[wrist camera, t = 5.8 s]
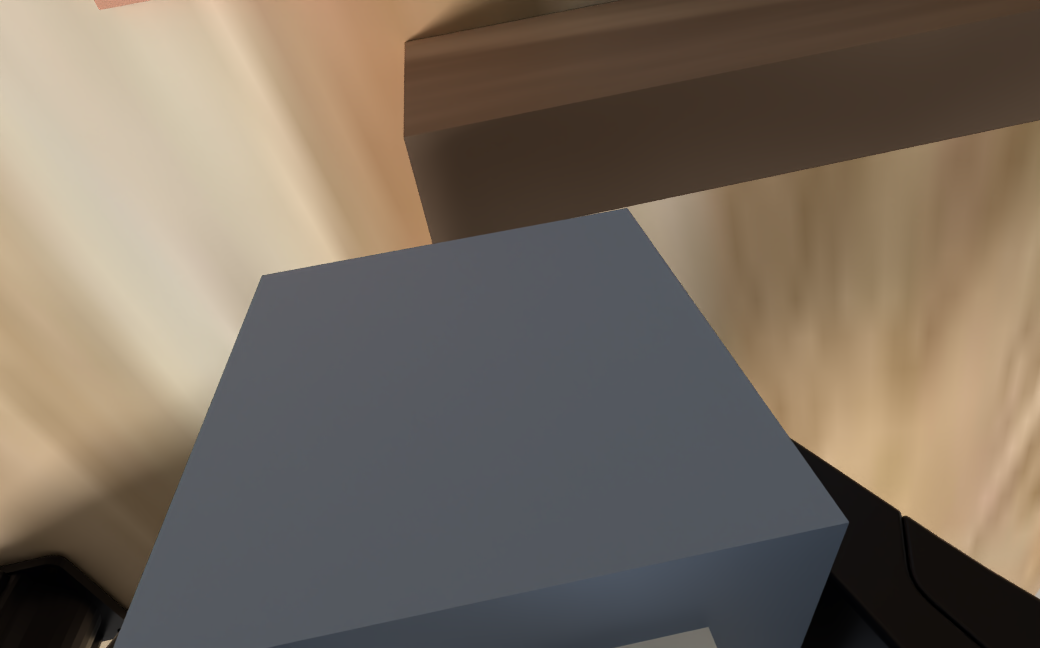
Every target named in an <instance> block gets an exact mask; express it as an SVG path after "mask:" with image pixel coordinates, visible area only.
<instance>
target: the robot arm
mask: <svg viewBox="0 0 1040 648" xmlns="http://www.w3.org/2000/svg"><path fill="white" fill-rule="evenodd" d="M789 438H790V437H789ZM790 439H791V438H790ZM791 441H792V442H793V443H794V445H795V446H796V448H797V449H798V450H799V452H800V453H801V455H802V456H803V458H804V459H805V460H806V462H807V463H808V465H809V466H810V467H811V469H812V470H813V472H814V473H815V475H816V476H817V477H818V479H819V480H820V482H821V483H822V484H823V486H824V487H825V489H826V490H827V492H828V493H829V494H830V496H831V497H832V499H833V500H834V501H835V503H836V504H837V506H838V507H839V509H840V510H841V511H842V513H843V514H844V516H845V517H846V518H847V520H848V521H849V524H848V527H847V529H846V532H845V535H844V537H843V540H842V542H841V545H840V547H839V550H838V553H837V555H836V558H835V560H834V563H833V565H832V568H831V571H830V573H829V576H828V578H827V581H826V584H825V586H824V589H823V591H822V594H821V596H820V599H819V602H818V604H817V607H816V609H815V612H814V614H813V617H812V620H811V622H810V625H809V627H808V630H807V632H806V635H805V638H804V640H803V643H802V645H801V648H1040V599H1039V598H1037V597H1035V596H1034V595H1032V594H1030V593H1029V592H1027V591H1025V590H1023V589H1022V588H1020V587H1018V586H1017V585H1015V584H1013V583H1012V582H1010V581H1008V580H1007V579H1005V578H1003V577H1002V576H1000V575H998V574H996V573H995V572H993V571H991V570H990V569H988V568H987V567H985V566H983V565H982V564H980V563H979V562H977V561H976V560H974V559H972V558H971V557H969V556H968V555H966V554H965V553H963V552H962V551H960V550H958V549H957V548H955V547H954V546H952V545H951V544H949V543H948V542H946V541H944V540H943V539H941V538H940V537H938V536H937V535H935V534H934V533H932V532H931V531H929V530H928V529H926V528H925V527H923V526H922V525H920V524H919V523H917V522H916V521H914V520H913V519H911V518H910V517H908V516H903V517H902V515H901V512H900V511H899V510H897V509H896V508H894V507H893V506H891V505H890V504H888V503H887V502H885V501H884V500H882V499H881V498H879V497H878V496H876V495H875V494H873V493H872V492H870V491H869V490H867V489H866V488H864V487H863V486H861V485H860V484H858V483H857V482H855V481H854V480H852V479H851V478H849V477H848V476H846V475H845V474H843V473H842V472H840V471H839V470H838V469H836V468H835V467H833V466H832V465H830V464H829V463H827V462H826V461H824V460H823V459H821V458H820V457H818V456H817V455H815V454H814V453H812V452H811V451H809V450H808V449H806V448H805V447H803V446H802V445H800V444H799V443H797V442H796V441H794V440H793V439H791ZM126 614H127V611H126V610H125V609H123V608H122V607H121V606H120V605H119V604H118V603H116V602H115V601H114V600H113V599H112V598H111V597H110V596H108V595H107V594H106V593H105V592H104V591H103V590H101V589H100V588H99V587H98V586H97V585H96V584H95V583H93V582H92V581H91V580H90V579H89V578H88V577H87V576H85V575H84V574H83V573H82V572H81V571H80V570H78V569H77V568H76V567H75V566H74V565H73V564H72V563H70V562H69V561H68V560H67V559H65V558H63V557H60V556H46V557H42V558H37V559H33V560H29V561H24V562H20V563H15V564H11V565H6V566H2V567H0V648H99V647H100V645H101V642H102V641H107V640H111V639H113V640H112V641H111V642H110V644H109V645H108V646H107V647H106V648H113V647H114V644H115V642H116V639H117V637H118V634H119V632H120V629H121V627H122V624H123V622H124V619H125V617H126Z"/></svg>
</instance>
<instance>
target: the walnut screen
mask: <svg viewBox="0 0 1040 648" xmlns="http://www.w3.org/2000/svg"><path fill="white" fill-rule="evenodd" d="M1038 120H1040V0H619V1H614V2H609V3H604V4H598V5H593V6H588V7H583V8H578V9H573V10H568V11H563V12H557V13H552V14H547V15H542V16H537V17H532V18H527V19H522V20H516V21H511V22H506V23H501V24H496V25H491V26H486V27H480V28H475V29H470V30H465V31H460V32H455V33H450V34H445V35H439V36H434V37H429V38H424V39H419V40H414V41H409V42H405V68H404V140H405V144H406V148H407V151H408V155H409V159H410V162H411V166H412V170H413V173H414V177H415V181H416V184H417V188H418V192H419V195H420V199H421V203H422V206H423V210H424V214H425V217H426V221H427V225H428V228H429V232H430V236H431V239H432V243H433V244H436V243H441V242H446V241H452V240H457V239H463V238H468V237H473V236H479V235H484V234H490V233H495V232H501V231H506V230H511V229H517V228H522V227H528V226H533V225H538V224H544V223H549V222H555V221H560V220H566V219H571V218H575V217H580V216H585V215H590V214H594V213H599V212H604V211H609V210H614V209H618V208H623V207H628V206H633V205H637V204H642V203H647V202H652V201H656V200H661V199H666V198H671V197H675V196H680V195H685V194H690V193H695V192H699V191H704V190H709V189H714V188H718V187H723V186H728V185H733V184H737V183H742V182H747V181H752V180H756V179H761V178H766V177H771V176H776V175H780V174H785V173H790V172H795V171H799V170H804V169H809V168H814V167H818V166H823V165H828V164H833V163H837V162H842V161H847V160H852V159H857V158H861V157H866V156H871V155H876V154H880V153H885V152H890V151H895V150H899V149H904V148H909V147H914V146H919V145H923V144H928V143H933V142H938V141H942V140H947V139H952V138H957V137H961V136H966V135H971V134H976V133H980V132H985V131H990V130H995V129H1000V128H1004V127H1009V126H1014V125H1019V124H1023V123H1028V122H1033V121H1038Z"/></svg>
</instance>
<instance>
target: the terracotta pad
mask: <svg viewBox="0 0 1040 648" xmlns="http://www.w3.org/2000/svg"><path fill="white" fill-rule="evenodd" d="M94 1H95V3H96V5H97V7H98V8H99V10H101V9H107V8H112V7H117V6H123V5H128V4H133V3H139V2H144V1H149V0H94Z"/></svg>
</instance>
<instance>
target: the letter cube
mask: <svg viewBox="0 0 1040 648" xmlns="http://www.w3.org/2000/svg"><path fill="white" fill-rule="evenodd" d="M848 524H849V521H848V520H847V518H846V517H845V516H844V514H843V513H842V511H841V510H840V509H839V507H838V506H837V504H836V503H835V501H834V500H833V499H832V497H831V496H830V494H829V493H828V492H827V490H826V489H825V487H824V486H823V484H822V483H821V482H820V480H819V479H818V477H817V476H816V475H815V473H814V472H813V470H812V469H811V467H810V466H809V465H808V463H807V462H806V460H805V459H804V458H803V456H802V455H801V453H800V452H799V450H798V449H797V448H796V446H795V445H794V443H793V442H792V441H791V439H790V438H789V436H788V435H787V434H786V432H785V431H784V429H783V428H782V426H781V425H780V424H779V422H778V421H777V419H776V418H775V417H774V415H773V414H772V412H771V411H770V409H769V408H768V407H767V405H766V404H765V402H764V401H763V400H762V398H761V397H760V395H759V394H758V392H757V391H756V390H755V388H754V387H753V385H752V384H751V383H750V381H749V380H748V378H747V377H746V375H745V374H744V373H743V371H742V370H741V368H740V367H739V366H738V364H737V363H736V361H735V360H734V358H733V357H732V356H731V354H730V353H729V351H728V350H727V349H726V347H725V346H724V344H723V343H722V342H721V340H720V339H719V337H718V336H717V334H716V333H715V332H714V330H713V329H712V327H711V326H710V325H709V323H708V322H707V320H706V319H705V317H704V316H703V315H702V313H701V312H700V310H699V309H698V308H697V306H696V305H695V303H694V302H693V300H692V299H691V298H690V296H689V295H688V293H687V292H686V291H685V289H684V288H683V286H682V285H681V283H680V282H679V281H678V279H677V278H676V276H675V275H674V274H673V272H672V271H671V269H670V268H669V266H668V265H667V264H666V262H665V261H664V259H663V258H662V257H661V255H660V254H659V252H658V251H657V250H656V248H655V247H654V245H653V244H652V242H651V241H650V240H649V238H648V237H647V235H646V234H645V233H644V231H643V230H642V228H641V227H640V225H639V224H638V223H637V221H636V220H635V218H634V217H633V216H632V214H631V213H630V211H629V210H628V208H625V209H620V210H614V211H609V212H603V213H598V214H593V215H587V216H582V217H576V218H571V219H566V220H560V221H555V222H549V223H544V224H538V225H533V226H528V227H522V228H517V229H511V230H506V231H501V232H495V233H490V234H484V235H479V236H473V237H468V238H463V239H457V240H452V241H446V242H441V243H436V244H430V245H425V246H419V247H414V248H409V249H403V250H398V251H392V252H387V253H381V254H376V255H371V256H365V257H360V258H354V259H349V260H344V261H338V262H333V263H327V264H322V265H316V266H311V267H306V268H300V269H295V270H289V271H284V272H279V273H273V274H268V275H262V277H261V279H260V282H259V284H258V287H257V289H256V292H255V294H254V297H253V299H252V302H251V304H250V307H249V309H248V312H247V314H246V317H245V319H244V322H243V324H242V327H241V329H240V332H239V334H238V337H237V339H236V342H235V344H234V347H233V349H232V352H231V354H230V357H229V359H228V362H227V364H226V367H225V369H224V372H223V374H222V377H221V379H220V382H219V384H218V387H217V389H216V392H215V394H214V397H213V399H212V402H211V404H210V407H209V409H208V412H207V414H206V417H205V419H204V422H203V424H202V427H201V429H200V432H199V434H198V437H197V439H196V442H195V444H194V447H193V449H192V452H191V454H190V457H189V459H188V462H187V464H186V467H185V469H184V472H183V474H182V477H181V479H180V482H179V484H178V487H177V489H176V492H175V494H174V497H173V499H172V502H171V504H170V507H169V509H168V512H167V514H166V517H165V519H164V522H163V524H162V527H161V529H160V532H159V534H158V537H157V539H156V542H155V544H154V547H153V549H152V552H151V554H150V557H149V559H148V562H147V564H146V567H145V569H144V572H143V574H142V577H141V579H140V582H139V584H138V587H137V589H136V592H135V594H134V597H133V599H132V602H131V604H130V607H129V609H128V612H127V614H126V617H125V619H124V622H123V624H122V627H121V629H120V632H119V634H118V637H117V639H116V642H115V644H114V647H113V648H801V645H802V643H803V640H804V638H805V635H806V632H807V630H808V627H809V625H810V622H811V620H812V617H813V614H814V612H815V609H816V607H817V604H818V602H819V599H820V596H821V594H822V591H823V589H824V586H825V584H826V581H827V578H828V576H829V573H830V571H831V568H832V565H833V563H834V560H835V558H836V555H837V553H838V550H839V547H840V545H841V542H842V540H843V537H844V535H845V532H846V529H847V527H848Z"/></svg>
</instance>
